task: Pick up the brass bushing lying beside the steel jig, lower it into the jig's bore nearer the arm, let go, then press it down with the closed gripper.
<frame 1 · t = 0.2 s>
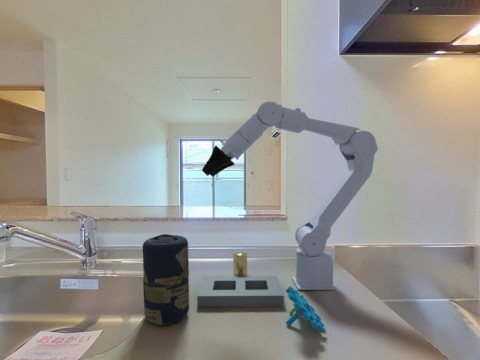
hand: (207, 173, 76), 31 cm above the counter, tool tilted 45°, fingers open, 7 cm apart
bushing: (240, 277, 82), on the counter
canister: (167, 317, 61), on the counter
jig: (240, 294, 71), on the counter
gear: (304, 325, 57), on the counter
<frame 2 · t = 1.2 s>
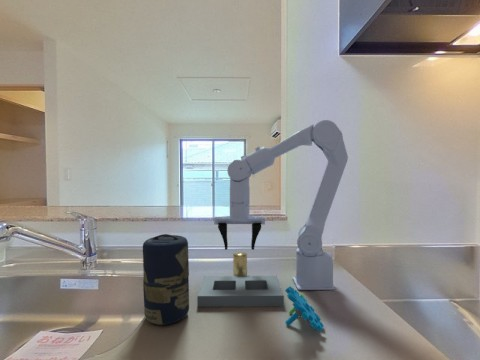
hand: (239, 248, 81), 9 cm above the counter, tool pointing down, fingers open, 7 cm apart
nothing on the counter moved.
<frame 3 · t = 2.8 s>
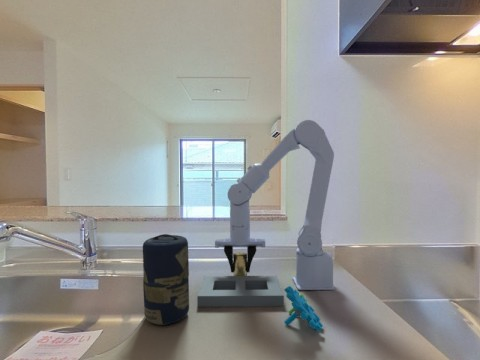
hand: (240, 271, 82), 2 cm above the counter, tool pointing down, fingers closed on bushing, 4 cm apart
bushing: (240, 277, 82), on the counter, touching gripper
everything else where it was.
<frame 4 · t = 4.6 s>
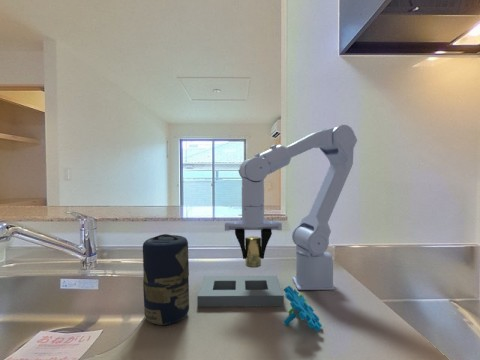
hand: (253, 257, 72), 9 cm above the counter, tool pointing down, fingers closed on bushing, 4 cm apart
bushing: (253, 265, 72), point 7 cm above the counter, touching gripper
everything else where it was.
when the fingers open (4 cm above the counter, at t = 6.6 s): bushing drops 2 cm, resting in jig.
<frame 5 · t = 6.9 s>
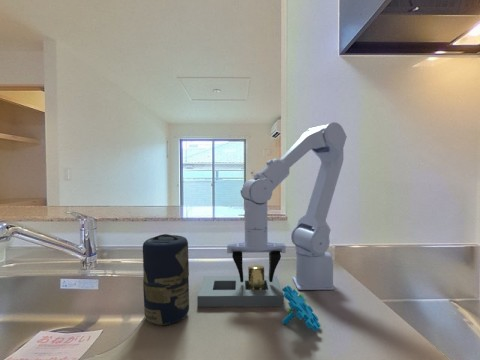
hand: (256, 280, 71), 4 cm above the counter, tool pointing down, fingers open, 7 cm apart
bushing: (256, 294, 71), resting in jig
everything else where it was.
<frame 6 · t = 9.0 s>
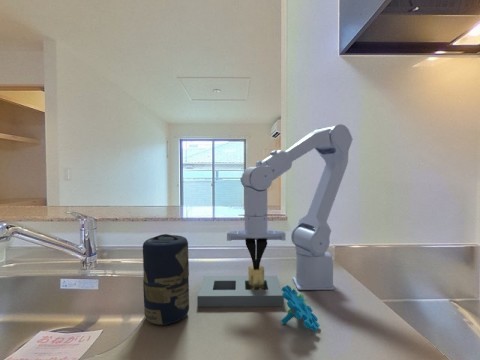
hand: (256, 268, 71), 7 cm above the counter, tool pointing down, fingers closed, pressing on bushing
bushing: (256, 294, 71), resting in jig, touching gripper
everything else where it was.
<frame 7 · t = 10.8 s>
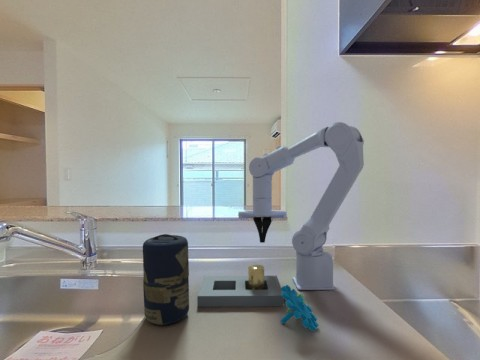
hand: (262, 241, 86), 9 cm above the counter, tool pointing down, fingers closed
bushing: (256, 294, 71), resting in jig
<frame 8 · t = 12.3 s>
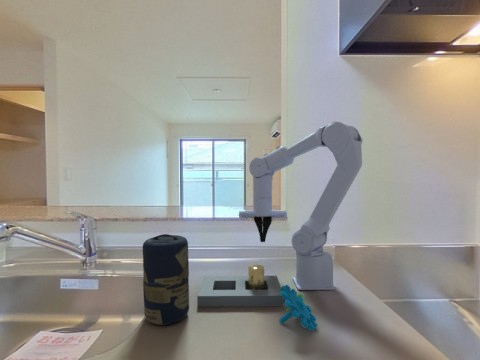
hand: (262, 241, 86), 9 cm above the counter, tool pointing down, fingers closed
at the end: bushing 0.0 cm from the target spot on the jig, point 0.0 cm above the jig's base; bushing tilted 0°; the gripper is holding nothing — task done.
